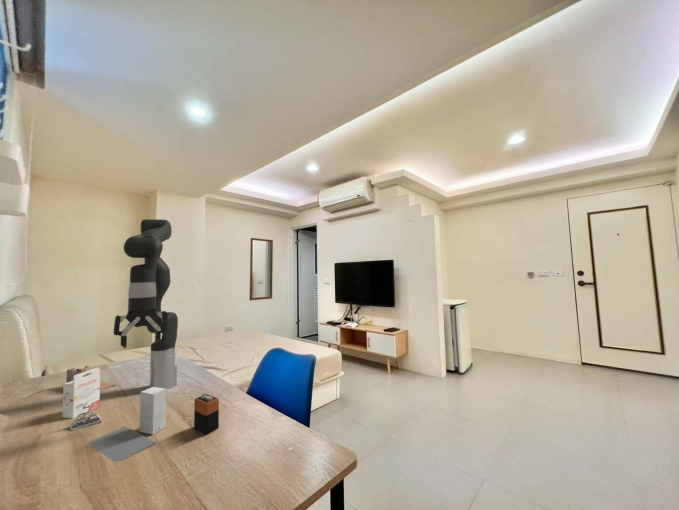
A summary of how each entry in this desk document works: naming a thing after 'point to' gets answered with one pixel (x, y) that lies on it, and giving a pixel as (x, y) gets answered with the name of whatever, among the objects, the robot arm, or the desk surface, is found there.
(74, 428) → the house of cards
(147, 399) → the skincare box
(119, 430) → the mat
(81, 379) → the ink cartridge box
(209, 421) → the battery
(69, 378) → the ruin model on sheet
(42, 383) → the desk surface
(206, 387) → the desk surface
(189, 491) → the desk surface
